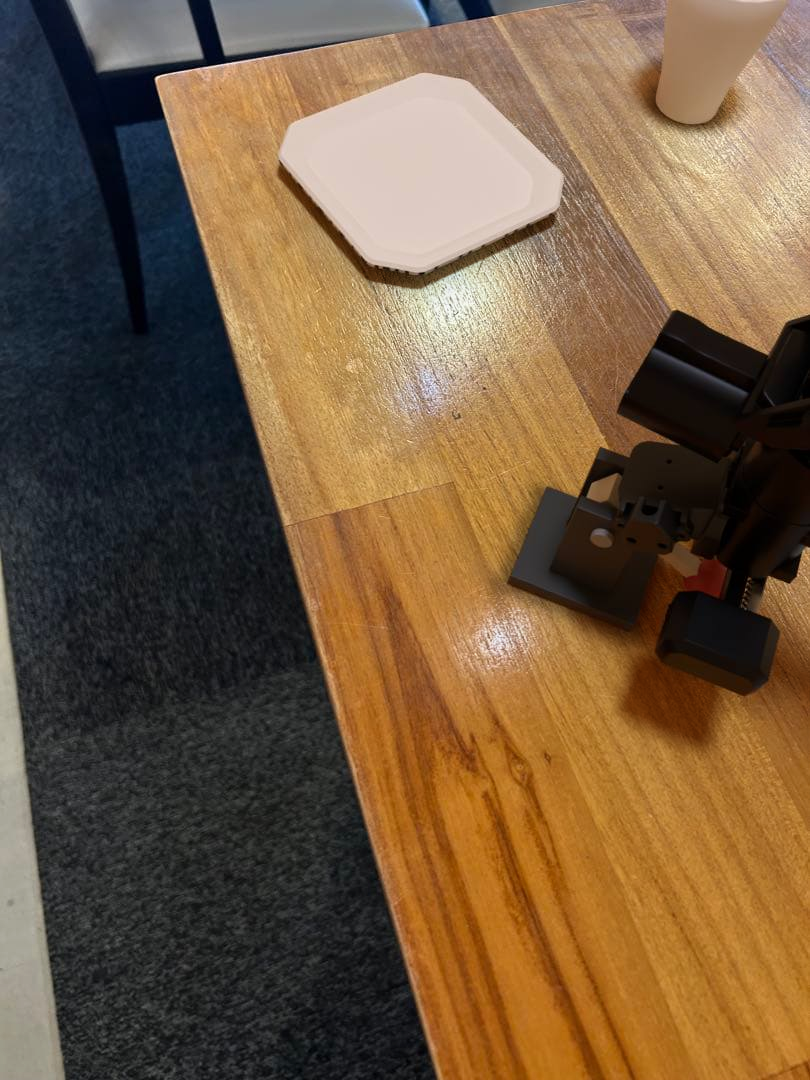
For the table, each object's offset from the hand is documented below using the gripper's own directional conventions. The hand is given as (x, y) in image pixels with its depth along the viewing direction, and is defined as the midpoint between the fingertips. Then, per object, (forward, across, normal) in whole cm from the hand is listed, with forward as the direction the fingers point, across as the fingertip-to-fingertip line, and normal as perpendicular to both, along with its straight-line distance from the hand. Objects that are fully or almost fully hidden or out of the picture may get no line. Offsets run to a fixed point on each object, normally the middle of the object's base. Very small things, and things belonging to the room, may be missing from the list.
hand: (698, 599), depth 66 cm
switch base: (+1, 0, -8) cm, 8 cm away
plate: (+1, -30, -33) cm, 45 cm away
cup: (+1, -52, -14) cm, 54 cm away
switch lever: (-4, 0, -5) cm, 6 cm away
